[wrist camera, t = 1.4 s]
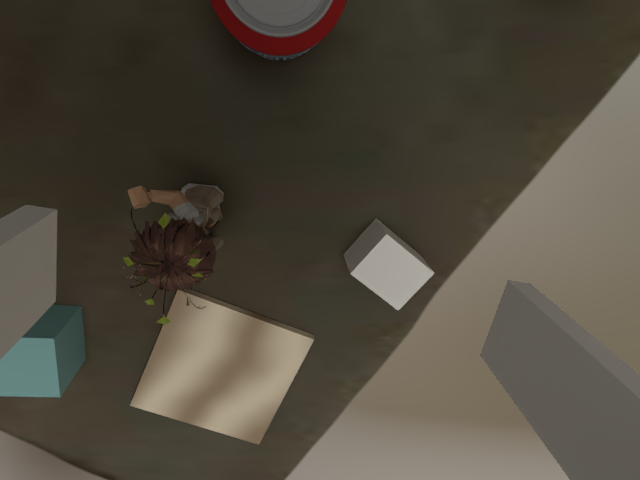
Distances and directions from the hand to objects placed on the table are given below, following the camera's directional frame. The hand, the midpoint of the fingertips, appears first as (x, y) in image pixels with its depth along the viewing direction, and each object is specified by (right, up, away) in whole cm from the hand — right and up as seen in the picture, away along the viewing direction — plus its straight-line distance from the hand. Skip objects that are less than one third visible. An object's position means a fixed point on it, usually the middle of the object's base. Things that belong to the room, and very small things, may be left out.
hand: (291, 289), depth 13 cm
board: (-8, -10, +27) cm, 29 cm away
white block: (+6, 0, +25) cm, 25 cm away
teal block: (-21, -6, +24) cm, 33 cm away
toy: (-8, +4, +22) cm, 24 cm away
